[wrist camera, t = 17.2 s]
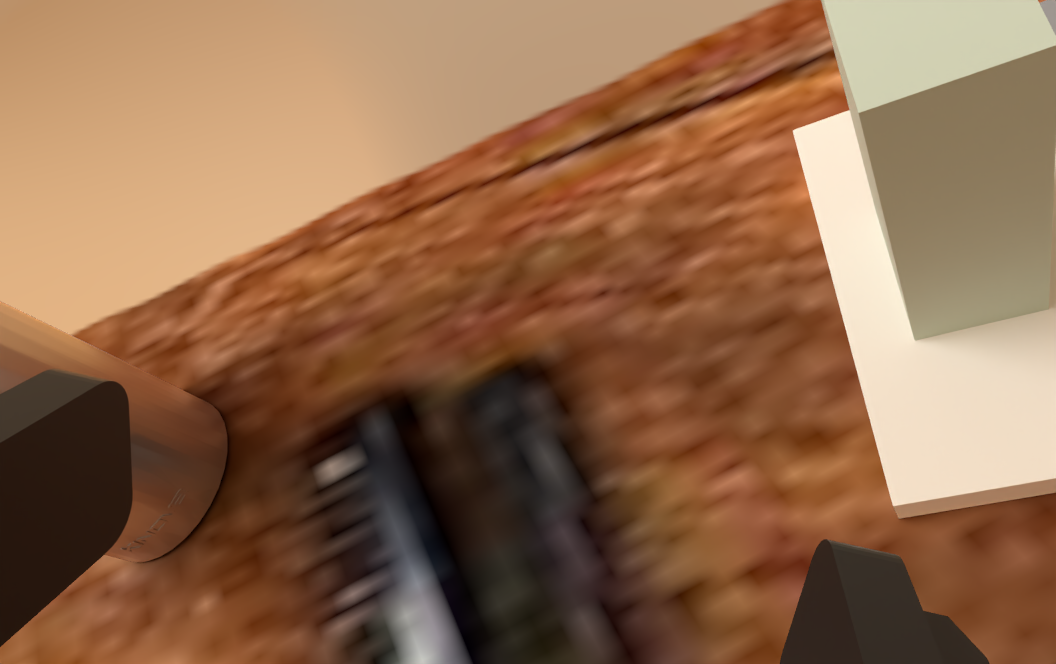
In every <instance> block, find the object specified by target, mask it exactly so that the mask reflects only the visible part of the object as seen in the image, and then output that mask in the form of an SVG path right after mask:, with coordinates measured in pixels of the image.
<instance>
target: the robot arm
mask: <svg viewBox="0 0 1056 664" xmlns="http://www.w3.org/2000/svg"><path fill="white" fill-rule="evenodd" d="M226 458H227V432H226V427H225V423H224V421H223V419H222V417H221V415H220V413H219V411H218V410H217V409H216V408H215V407H214V406H213V405H212V404H210V403H208V402H206V401H204V400H202V399H200V398H198V397H196V396H194V395H192V394H190V393H188V392H186V391H183V390H182V389H180V388H178V387H176V386H174V385H172V384H170V383H168V382H166V381H164V380H162V379H160V378H158V377H156V376H154V375H152V374H149V373H147V372H145V371H143V370H141V369H139V368H137V367H135V366H133V365H131V364H129V363H127V362H125V361H123V360H121V359H119V358H117V357H114V356H112V355H110V354H108V353H106V352H104V351H102V350H100V349H98V348H96V347H94V346H92V345H90V344H88V343H86V342H84V341H82V340H79V339H77V338H75V337H73V336H71V335H69V334H67V333H65V332H63V331H61V330H59V329H57V328H55V327H53V326H51V325H48V324H46V323H44V322H42V321H40V320H38V319H36V318H34V317H32V316H30V315H28V314H26V313H24V312H22V311H20V310H18V309H16V308H14V307H11V306H9V305H7V304H5V303H3V302H1V301H0V647H1V646H2V645H3V644H4V643H5V642H6V641H7V640H9V639H10V638H11V637H12V636H13V635H14V634H15V633H16V632H18V631H19V630H20V629H21V628H22V627H23V626H24V625H25V624H27V623H28V622H29V621H30V620H31V619H32V618H33V617H34V616H36V615H37V614H38V613H39V612H40V611H41V610H42V609H43V608H45V607H46V606H47V605H48V604H49V603H50V602H51V601H52V600H54V599H55V598H56V597H57V596H58V595H59V594H60V593H61V592H63V591H64V590H65V589H66V588H67V587H68V586H69V585H70V584H72V583H73V582H74V581H75V580H76V579H77V578H78V577H79V576H81V575H82V574H83V573H84V572H85V571H86V570H87V569H88V568H90V567H91V566H92V565H93V564H94V563H95V562H96V561H97V560H99V559H100V558H101V557H102V556H103V555H108V556H112V557H116V558H119V559H123V560H127V561H131V562H146V561H149V560H152V559H155V558H158V557H160V556H162V555H164V554H165V553H167V552H169V551H170V550H172V549H174V548H175V547H176V546H177V545H178V544H179V543H181V542H182V541H183V540H184V539H185V538H186V537H187V536H188V535H189V534H190V533H191V532H192V530H193V529H194V528H195V527H196V526H197V525H198V523H199V522H200V521H201V519H202V518H203V516H204V514H205V513H206V511H207V510H208V508H209V507H210V505H211V503H212V501H213V499H214V497H215V494H216V492H217V490H218V488H219V485H220V482H221V479H222V476H223V473H224V470H225V464H226ZM780 664H989V662H988V660H987V658H986V657H985V656H984V655H983V653H982V652H981V651H980V650H979V649H978V648H977V647H976V646H975V645H974V644H973V643H972V642H971V641H970V640H969V639H968V637H967V636H966V635H965V634H964V633H963V632H962V631H961V630H960V629H959V628H958V627H957V626H956V625H955V624H954V623H953V622H952V620H951V619H950V618H949V617H948V616H943V615H939V614H934V613H930V612H926V611H923V610H922V607H921V605H920V602H919V600H918V597H917V595H916V592H915V590H914V587H913V585H912V582H911V580H910V577H909V575H908V572H907V570H906V567H905V565H904V563H903V561H902V559H901V558H900V557H899V556H898V555H895V554H890V553H886V552H881V551H877V550H872V549H868V548H863V547H858V546H854V545H849V544H845V543H840V542H836V541H831V540H827V539H826V540H823V541H821V542H820V544H819V545H818V547H817V548H816V551H815V553H814V555H813V558H812V561H811V564H810V567H809V571H808V574H807V577H806V580H805V583H804V586H803V589H802V593H801V596H800V599H799V602H798V605H797V608H796V611H795V615H794V618H793V621H792V624H791V627H790V630H789V633H788V637H787V640H786V643H785V646H784V649H783V653H782V656H781V660H780Z"/></svg>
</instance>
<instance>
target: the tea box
mask: <svg viewBox="0 0 1056 664" xmlns="http://www.w3.org/2000/svg"><path fill="white" fill-rule="evenodd" d="M821 1H822V5H823V9H824V13H825V17H826V20H827V24H828V28H829V32H830V36H831V40H832V44H833V48H834V51H835V55H836V59H837V63H838V67H839V71H840V75H841V78H842V82H843V86H844V90H845V94H846V98H847V102H848V106H849V109H850V113H851V117H852V121H853V125H854V129H855V133H856V137H857V140H858V144H859V148H860V152H861V156H862V160H863V164H864V167H865V171H866V175H867V179H868V183H869V187H870V191H871V195H872V198H873V202H874V206H875V210H876V214H877V217H878V220H879V224H880V227H881V230H882V234H883V237H884V240H885V244H886V247H887V250H888V254H889V257H890V260H891V264H892V267H893V270H894V274H895V277H896V280H897V284H898V287H899V290H900V294H901V297H902V300H903V304H904V307H905V310H906V314H907V317H908V320H909V324H910V327H911V330H912V334H913V337H914V340H920V339H924V338H928V337H932V336H937V335H941V334H945V333H950V332H954V331H958V330H962V329H967V328H971V327H975V326H979V325H984V324H988V323H992V322H997V321H1001V320H1005V319H1009V318H1014V317H1018V316H1022V315H1026V314H1031V313H1035V312H1039V311H1044V310H1048V309H1049V291H1050V267H1051V243H1052V219H1053V196H1054V172H1055V148H1056V35H1055V33H1054V31H1053V29H1052V27H1051V25H1050V23H1049V21H1048V19H1047V17H1046V16H1045V14H1044V12H1043V10H1042V8H1041V6H1040V4H1039V2H1038V0H821Z"/></svg>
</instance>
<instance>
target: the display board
mask: <svg viewBox="0 0 1056 664" xmlns="http://www.w3.org/2000/svg"><path fill="white" fill-rule="evenodd" d="M1039 4H1040V6H1041V8H1042V10H1043V12H1044V14H1045V16H1046V17H1047V19H1048V21H1049V23H1050V25H1051V27H1052V29H1053V31H1054V33H1055V35H1056V0H1046V1H1043V2H1041V3H1039ZM793 134H794V137H795V141H796V145H797V149H798V152H799V156H800V160H801V164H802V167H803V171H804V175H805V179H806V182H807V186H808V190H809V194H810V197H811V201H812V205H813V209H814V212H815V216H816V220H817V224H818V227H819V231H820V235H821V238H822V242H823V246H824V250H825V253H826V257H827V261H828V265H829V268H830V272H831V276H832V280H833V283H834V287H835V291H836V295H837V298H838V302H839V306H840V310H841V313H842V317H843V321H844V325H845V328H846V332H847V336H848V340H849V343H850V347H851V351H852V355H853V358H854V362H855V366H856V369H857V373H858V377H859V381H860V384H861V388H862V392H863V396H864V399H865V403H866V407H867V411H868V414H869V418H870V422H871V426H872V429H873V433H874V437H875V441H876V444H877V448H878V452H879V456H880V459H881V463H882V467H883V471H884V474H885V478H886V482H887V486H888V489H889V493H890V497H891V501H892V504H893V507H894V509H895V512H896V514H897V516H898V518H899V519H900V518H906V517H912V516H918V515H924V514H931V513H937V512H943V511H949V510H955V509H961V508H967V507H973V506H979V505H985V504H991V503H997V502H1003V501H1009V500H1015V499H1021V498H1027V497H1033V496H1039V495H1045V494H1051V493H1056V148H1055V172H1054V196H1053V219H1052V243H1051V267H1050V291H1049V309H1048V310H1044V311H1039V312H1035V313H1031V314H1026V315H1022V316H1018V317H1014V318H1009V319H1005V320H1001V321H997V322H992V323H988V324H984V325H979V326H975V327H971V328H967V329H962V330H958V331H954V332H950V333H945V334H941V335H937V336H932V337H928V338H924V339H920V340H914V337H913V334H912V330H911V327H910V324H909V320H908V317H907V314H906V310H905V307H904V304H903V300H902V297H901V294H900V290H899V287H898V284H897V280H896V277H895V274H894V270H893V267H892V264H891V260H890V257H889V254H888V250H887V247H886V244H885V240H884V237H883V234H882V230H881V227H880V224H879V220H878V217H877V214H876V210H875V206H874V202H873V198H872V195H871V191H870V187H869V183H868V179H867V175H866V171H865V167H864V164H863V160H862V156H861V152H860V148H859V144H858V140H857V137H856V133H855V129H854V125H853V121H852V117H851V113H850V110H849V111H846V112H843V113H840V114H838V115H835V116H832V117H829V118H826V119H823V120H821V121H818V122H815V123H812V124H809V125H806V126H804V127H801V128H798V129H795V130H793Z"/></svg>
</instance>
